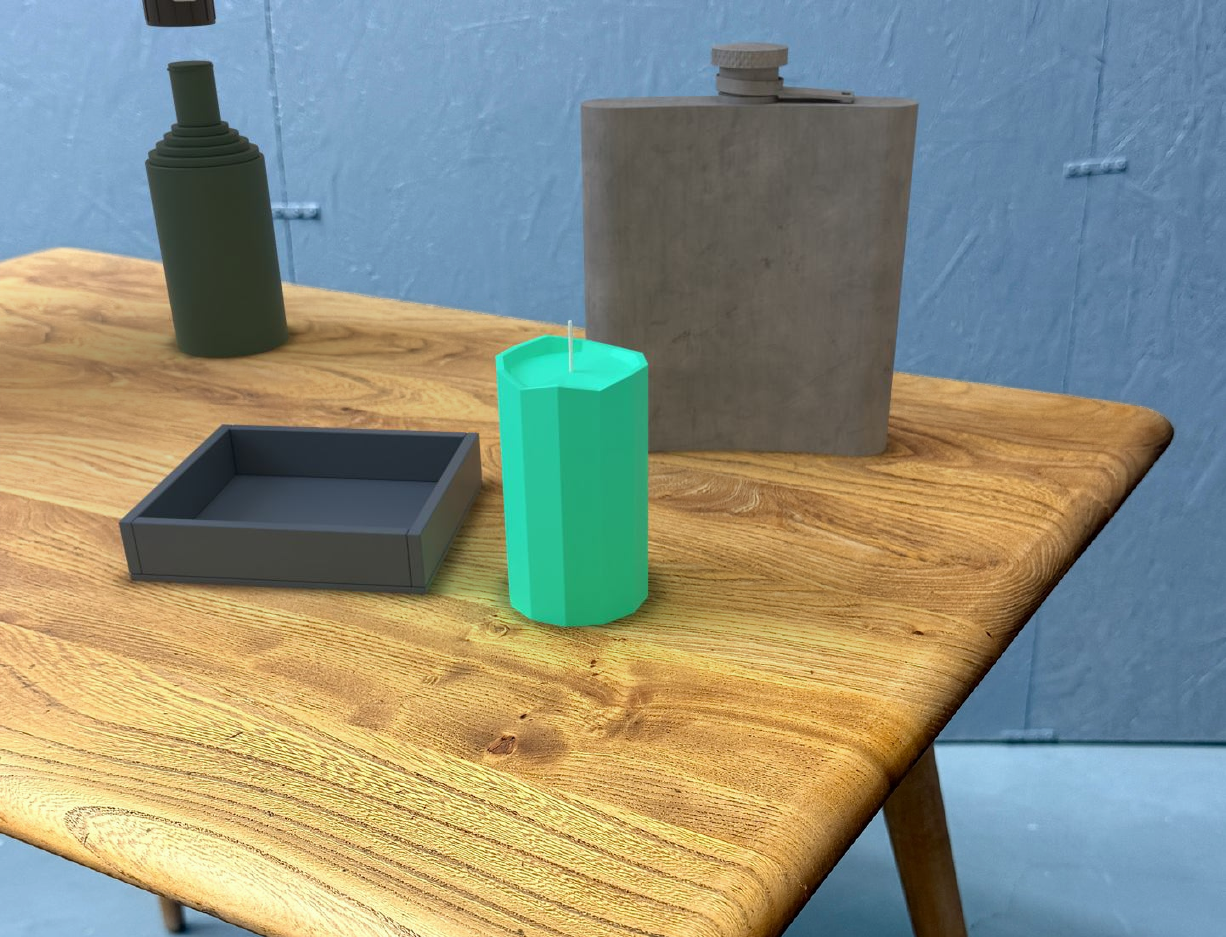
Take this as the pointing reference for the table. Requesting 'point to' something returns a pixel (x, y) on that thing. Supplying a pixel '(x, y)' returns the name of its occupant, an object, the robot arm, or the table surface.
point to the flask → (215, 227)
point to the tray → (307, 509)
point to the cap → (179, 13)
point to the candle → (574, 478)
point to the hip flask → (751, 255)
